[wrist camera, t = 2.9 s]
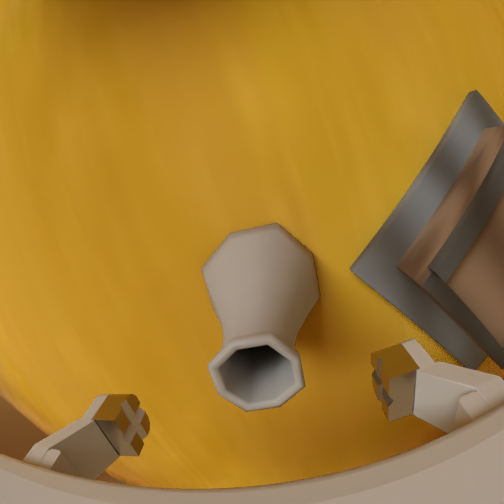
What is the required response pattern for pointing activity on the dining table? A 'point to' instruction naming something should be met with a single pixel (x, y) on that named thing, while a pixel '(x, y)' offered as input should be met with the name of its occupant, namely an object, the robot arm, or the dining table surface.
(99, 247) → the dining table surface
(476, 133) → the walnut plinth
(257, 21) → the dining table surface
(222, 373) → the flask
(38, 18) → the dining table surface
